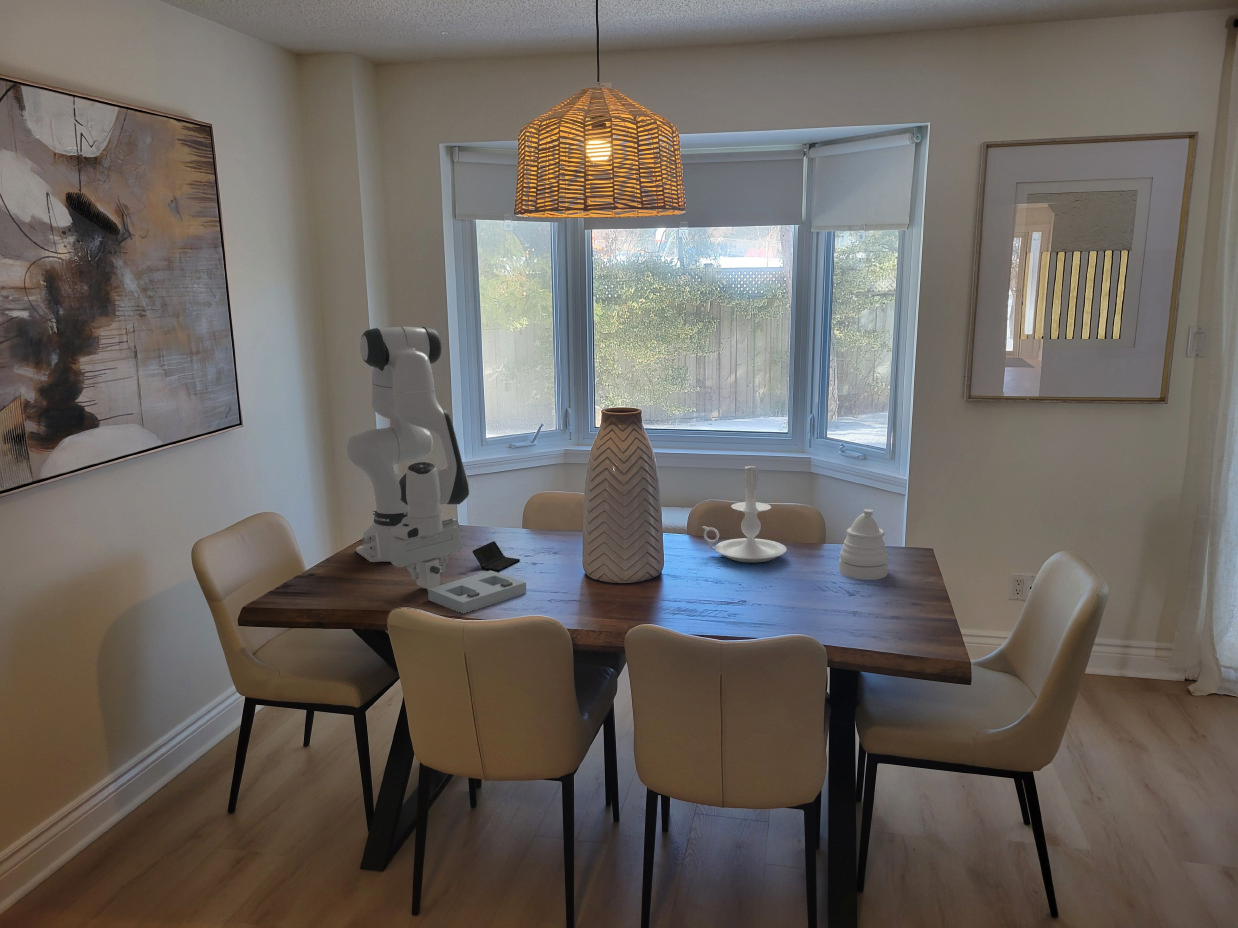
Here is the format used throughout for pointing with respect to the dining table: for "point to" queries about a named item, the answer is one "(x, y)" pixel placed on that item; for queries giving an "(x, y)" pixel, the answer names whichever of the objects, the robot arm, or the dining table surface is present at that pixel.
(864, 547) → the honey pot
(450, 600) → the plate
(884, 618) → the dining table surface
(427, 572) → the plug
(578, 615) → the dining table surface
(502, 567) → the handheld gaming console
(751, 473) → the candlestick
